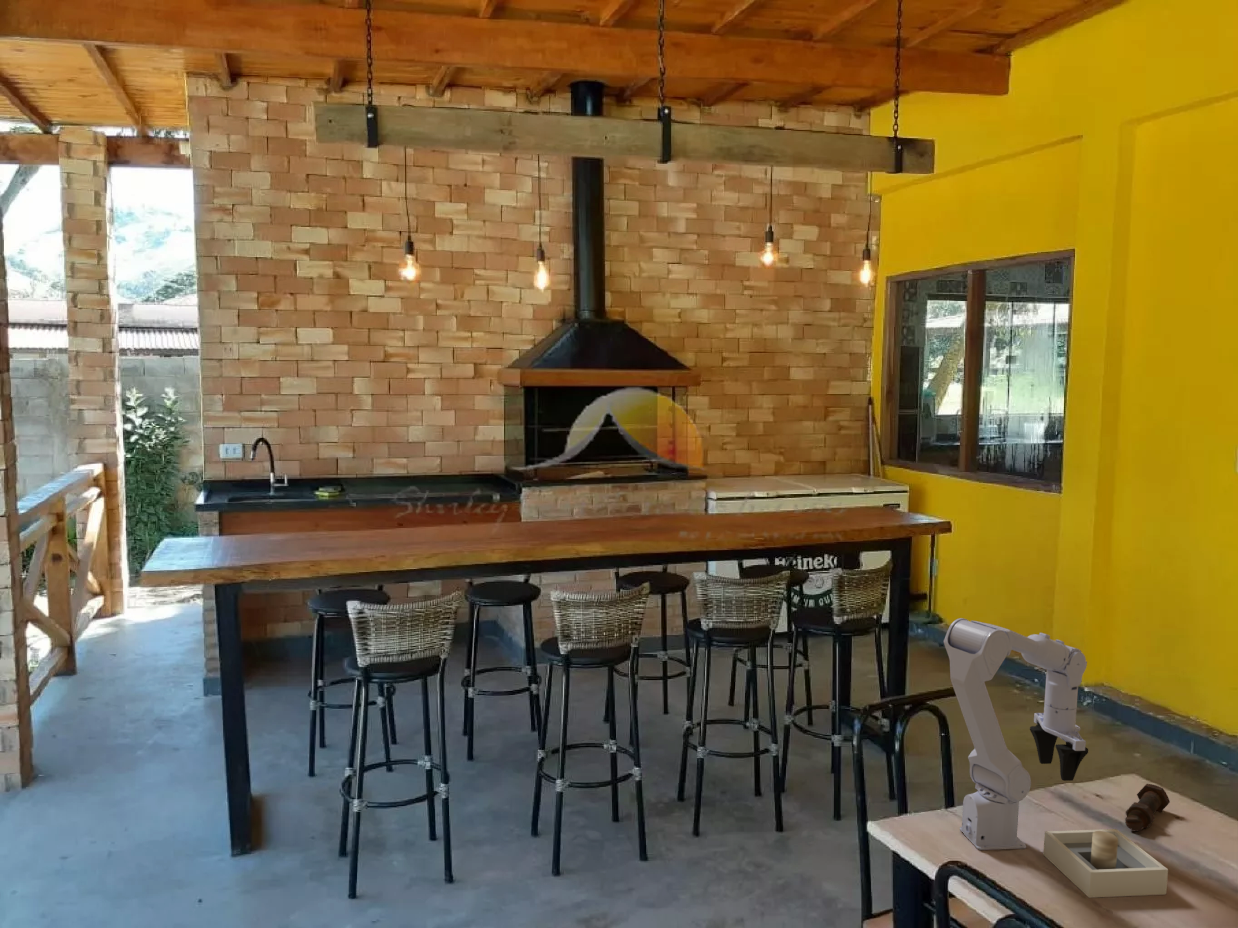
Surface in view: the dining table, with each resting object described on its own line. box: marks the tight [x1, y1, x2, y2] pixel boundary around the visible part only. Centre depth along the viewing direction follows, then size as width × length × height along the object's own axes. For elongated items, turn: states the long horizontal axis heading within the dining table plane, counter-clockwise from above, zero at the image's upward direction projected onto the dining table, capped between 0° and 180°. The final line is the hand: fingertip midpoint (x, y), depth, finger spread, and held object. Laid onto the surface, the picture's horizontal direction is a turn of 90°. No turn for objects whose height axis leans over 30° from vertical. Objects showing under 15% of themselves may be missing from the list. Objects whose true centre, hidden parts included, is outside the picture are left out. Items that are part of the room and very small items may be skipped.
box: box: [1042, 828, 1169, 899], centre depth 163 cm, size 14×14×4 cm
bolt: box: [1124, 783, 1171, 832], centre depth 184 cm, size 6×5×15 cm
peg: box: [1091, 831, 1118, 870], centre depth 163 cm, size 4×4×7 cm
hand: (1056, 771), depth 181 cm, fingers open, 7 cm apart
